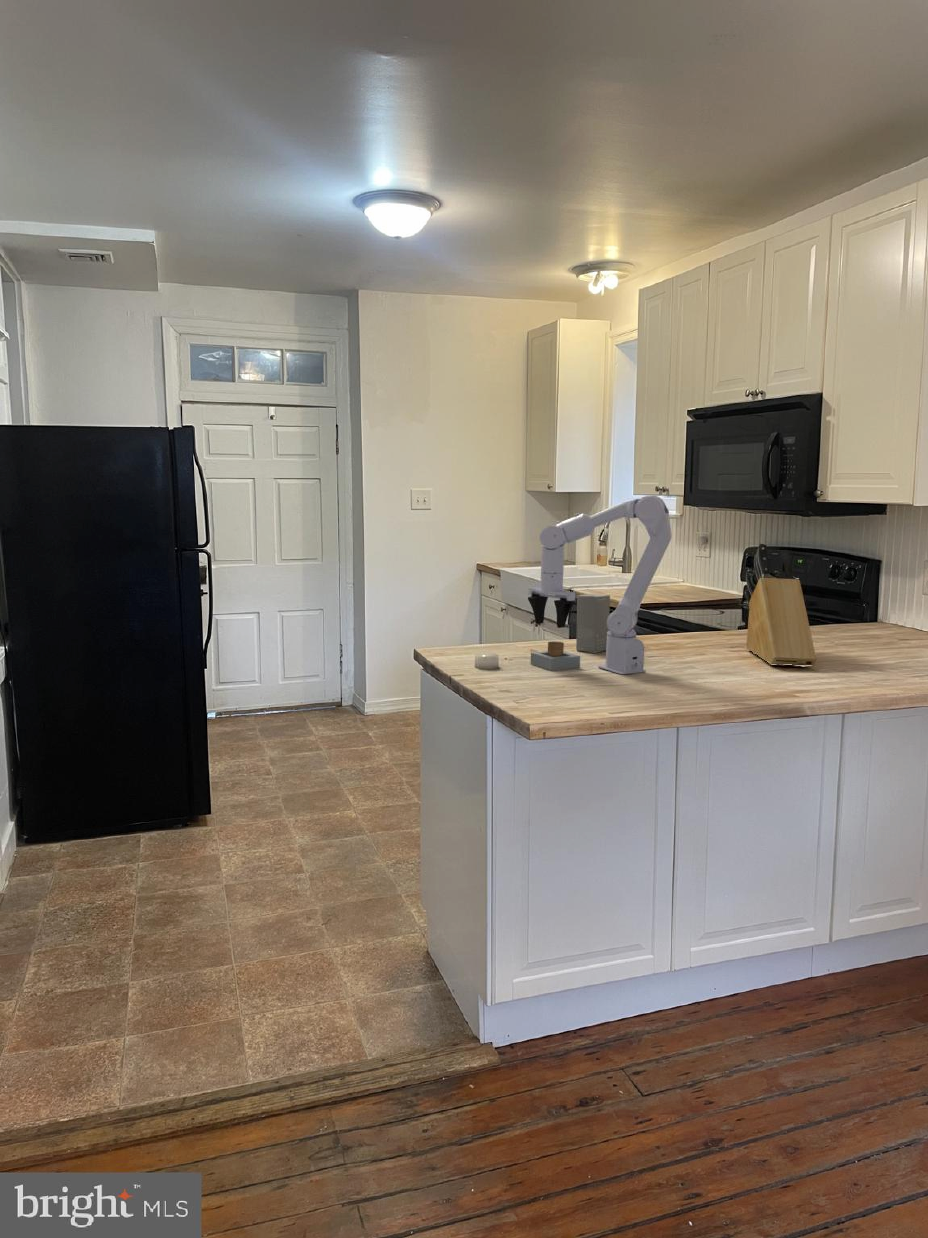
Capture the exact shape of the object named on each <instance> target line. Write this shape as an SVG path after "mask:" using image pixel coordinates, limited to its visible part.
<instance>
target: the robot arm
mask: <svg viewBox="0 0 928 1238" xmlns="http://www.w3.org/2000/svg"><path fill="white" fill-rule="evenodd" d="M623 518H628V519H638V520H639V521H640V522H641V523H642V524H643V526H644V527H645V529H646V531H647V533H648V536H649V540H648V543H647V544H646V546H645V549H644V550H643V553H642V555H641V558H640V559H639V561H638V564H637V566H636V568H635V570H634V573H632V574H633V575H632V577H631V579H630V581H629V583H628V585H627V586H626V589H625V591H624V594H623V595H622V597H621V599H620V601H619V602H618V604H617V606H616V608H615V610H614V611H612V612H611V613H610V614H609V616H608V618H607V627H608V629H609V631H608V632H607V646H606V650H605V664H600V665H598V666H597V668H599V669H601V670H602V669H603V670H606V671H609V672H613V673H616V674H619V675H628V674H638V673H646V672H647V670H646V669H644V665H645V664H644V663H645V645H644V642H643V641H642V640H641V639H639V638H638V637H637V632H636V630H635V629H634V627H636V625H637V622H638V612H639V610H640V607H641V604H642V601H643V600H644V598H645V595H646V593H647V591H648V589H649V586H650V585H651V582H652V580H653V578H654V576H655V574H656V572H657V570H658V568H659V566H660V563H661V561H662V559H663V557H664V555H665V553H666V551H667V549H668V547H669V545H670V542H671V540H672V538H673V537H672V536H673V533H672V527H671V521H670V510H669V509H668V507H667V504H666V503H665V502H664V500H663V499H662V498H661V497H659V496H657V495H646V496H642V497H641V498H634V499H630V500H626V501H623V502H620V503H619V504H616V505H613V506H611V507H608V508H607V509H604V510H602V511H600V512H597V513H595V514H592V515H589V514H586V513H580V512H577V513H573V517H570V518H568V519H566V520H563V521H562V520H558V521H555V522H556V525H548V526H546V527H545V528H544V529H543V530H542V531H541V533H540V534H539V540H540V543H541V546H542V548H541V558H540V559H541V560H540V561H541V563H540V586H529V587H528V595H530V596H528V597H527V601H528V602H529V604H530V606H531V609H532V612H533V616H534V619H535V624H537V625H539V624H540V625H541V624H544V620H545V610H546V606H547V602H548V598H551V599H554V601H553V603H554V606H555V610H556V612H555V613H556V627H557V628H558V629H562V628H565V626H566V624H567V623H566V622H567V620H568V617H569V614H570V612H571V610H572V608H573V607H574V605H575V601H576V593H575V592H574V591H573V592H572V591H569V590H565V589H563V588H564V587H563V586H564V567H565V555H564V554H565V545H566V544H571V543H574V542H576V541H579V540H581V539H583V538H586V537H588V536H591V535H592V534H593V532H594V530H595V528H598V527H600V526H603V525H607V524H608V523H612V522H614V521H617V520H619V519H620V520H621V519H623ZM555 599H556V600H555Z"/></svg>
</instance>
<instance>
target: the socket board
mask: <svg viewBox="0 0 928 1238" xmlns="http://www.w3.org/2000/svg"><path fill="white" fill-rule="evenodd" d="M529 665H532V666H535V665H536V667H538V668H541V669H544V670H548V671H561V670H572V669H579V668H580V669H581V655H577V654H575V653H571V652H567V651H563V656H560V657H551V656H548V650H544V651H534V652H533V651H532V652H530V664H529Z"/></svg>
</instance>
